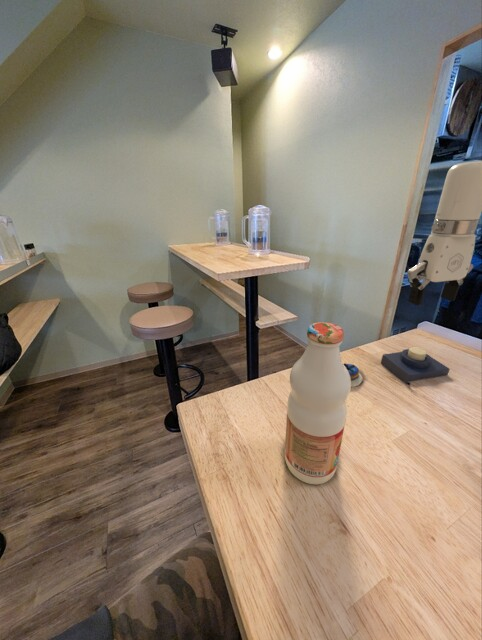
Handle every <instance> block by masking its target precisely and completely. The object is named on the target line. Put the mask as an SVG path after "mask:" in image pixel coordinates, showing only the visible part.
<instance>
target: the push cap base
mask: <svg viewBox="0 0 482 640" xmlns="http://www.w3.org/2000/svg"><path fill="white" fill-rule="evenodd" d="M408 351H409V348H406V349H403V350H401V351H397V352H392V353H384V354H382V356H381V360H380V365H382V366H383V367H384V368H385V369H386V370H387V371H389V372H390V373H391V374H392V375H394V376H395V377H396V378H397V379H399V380H400V381H401V382H402V383H403V384H405V386H410V385H411V383H410V382H416V381H423V380H427V379H433V378H439V377H446V376H448V375H449V372H450V370H451V368H449V367H448V366H447V365H445V364H444V363H441V362H440V361H438V360H437V359H435V358H433V356H431V355H429V354H428V353H427V354H426V357H425V360H423V361H419V360H414V359H412V358H410V357H408Z"/></svg>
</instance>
